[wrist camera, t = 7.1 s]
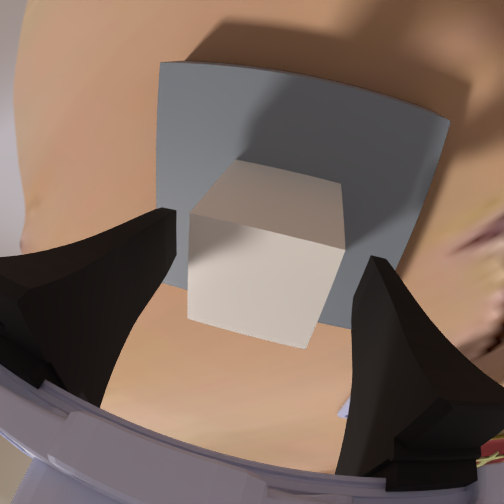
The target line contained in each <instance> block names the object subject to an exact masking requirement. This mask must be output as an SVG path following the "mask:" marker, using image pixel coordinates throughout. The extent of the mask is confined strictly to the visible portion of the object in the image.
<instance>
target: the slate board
mask: <svg viewBox="0 0 504 504" xmlns="http://www.w3.org/2000/svg"><path fill="white" fill-rule="evenodd" d="M450 122H451V121H450V120H448V119H446V118H445V117H443V116H441V115H439V114H437V113H435V112H434V111H431V110H429V109H426V108H423V107H421V106H418V105H415V104H412V103H409V102H406V101H403V100H400V99H397V98H394V97H391V96H388V95H385V94H381V93H378V92H374V91H371V90H367V89H364V88H360V87H356V86H353V85H349V84H345V83H341V82H337V81H332V80H328V79H323V78H319V77H314V76H309V75H304V74H299V73H293V72H288V71H282V70H275V69H269V68H262V67H254V66H246V65H237V64H227V63H216V62H201V61H172V62H160V73H159V89H158V108H157V138H156V201H157V209H158V208H161V207H164V208H168V209H173V210H177V219H176V235H177V255H176V257H175V259H174V262H173V264H172V266H171V268H170V270H169V272H168V273H167V275H166V277H165V278H164V280H163V281H162V283H164V284H168V285H171V286H175V287H179V288H182V289H186V290H188V247H189V219H190V212H191V211H192V209H193V208H194V207H195V206H196V205H197V203H198V202H199V201H200V200H201V199H202V197H203V196H204V195H205V194H206V193H207V192H208V190H209V189H210V188H211V187H212V186H213V184H214V183H215V182H216V181H217V180H218V179H219V178H220V176H221V175H222V174H223V173H224V172H225V171H226V169H227V168H228V167H229V166H230V165H231V164H232V163H233V162H234V160H241V161H246V162H250V163H255V164H260V165H265V166H269V167H274V168H279V169H283V170H287V171H292V172H296V173H300V174H304V175H309V176H313V177H317V178H321V179H325V180H329V181H332V182H336V183H340V184H341V190H342V202H343V216H344V232H345V253H344V255H343V258H342V261H341V263H340V266H339V269H338V271H337V274H336V277H335V279H334V282H333V284H332V287H331V289H330V292H329V294H328V297H327V299H326V302H325V304H324V307H323V309H322V312H321V314H320V317H319V319H318V321H317V322H319V323H323V324H328V325H333V326H337V327H342V328H347V329H351V315H352V303H353V296H354V294H355V292H356V289H357V287H358V285H359V282H360V280H361V278H362V275H363V273H364V270H365V268H366V266H367V263H368V261H369V258H370V256H371V255H373V256H377V257H381V258H385V259H387V260H388V262H389V263H390V264H391V266H392V267H393V268H394V270H396V267H397V265H398V263H399V261H400V259H401V256H402V254H403V252H404V250H405V247H406V245H407V243H408V240H409V238H410V236H411V233H412V231H413V229H414V226H415V224H416V221H417V219H418V216H419V214H420V211H421V209H422V206H423V204H424V201H425V198H426V196H427V193H428V190H429V187H430V185H431V182H432V179H433V176H434V173H435V170H436V167H437V164H438V161H439V158H440V155H441V152H442V149H443V146H444V142H445V139H446V136H447V132H448V129H449V125H450Z"/></svg>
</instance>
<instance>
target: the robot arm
mask: <svg viewBox="0 0 504 504" xmlns="http://www.w3.org/2000/svg"><path fill="white" fill-rule="evenodd" d="M176 219H177V210H173V209H168V208H164V207H161V208H158V209H155V210H153V211H150V212H148V213H145V214H143V215H141V216H139V217H136V218H134V219H132V220H130V221H128V222H125V223H123V224H121V225H119V226H116V227H114V228H112V229H109V230H107V231H104V232H102V233H100V234H97V235H95V236H92V237H89V238H87V239H84V240H81V241H78V242H75V243H72V244H68V245H65V246H61V247H57V248H53V249H49V250H46V251H41V252H36V253H30V254H24V255H18V256H9V257H0V435H2V436H3V437H4V438H5V439H7V440H8V441H9V442H10V443H12V444H13V445H14V446H16V447H17V448H18V449H20V450H21V451H22V452H24V453H25V454H26V455H28V456H29V457H30V458H32V459H33V461H32V463H31V464H30V467H29V468H28V470H27V472H26V474H25V476H24V478H23V480H22V482H21V483H20V486H19V487H18V489H17V492H16V493H15V495H14V497H13V500H12V502H11V504H504V462H499V463H492V464H486V465H482V466H479V467H477V465H476V459H479V458H480V457H481V455H482V454H481V446H482V445H484V444H485V443H487V442H488V441H489V440H491V439H492V438H493V437H495V436H496V435H497V434H499V433H500V432H501V431H502V430H503V429H504V387H502V386H501V385H500V384H498V383H497V382H495V381H494V380H493V379H491V378H490V377H488V376H487V375H486V374H485V373H483V372H482V371H481V370H480V369H479V368H477V367H476V366H475V365H474V364H473V363H471V362H470V361H469V360H468V359H467V358H466V357H465V356H464V355H463V354H462V353H461V352H460V351H459V350H458V349H457V348H456V347H455V346H454V345H453V344H452V343H451V342H450V341H449V340H448V339H447V338H446V337H445V336H444V335H443V334H442V333H441V331H440V330H439V329H438V328H437V327H436V326H435V325H434V323H433V322H432V321H431V320H430V319H429V317H428V316H427V315H426V313H425V312H424V311H423V309H422V308H421V307H420V306H419V304H418V303H417V301H416V300H415V299H414V297H413V296H412V294H411V293H410V292H409V290H408V289H407V287H406V286H405V284H404V283H403V281H402V280H401V279H400V277H399V276H398V274H397V273H396V271H395V270H394V268H393V267H392V266H391V264H390V263H389V262H388V260H387V259H385V258H381V257H377V256H373V255H371V256H370V258H369V261H368V263H367V266H366V268H365V270H364V273H363V275H362V278H361V280H360V282H359V285H358V287H357V289H356V292H355V294H354V296H353V303H352V315H351V334H352V369H353V373H352V388H351V395H350V397H349V398H348V399H347V401H346V402H345V403H344V405H343V406H342V407H341V409H340V410H339V411H338V417H341V418H347V423H346V429H345V434H344V439H343V443H342V448H341V452H340V456H339V460H338V464H337V468H336V472H335V475H334V474H325V473H317V472H309V471H303V470H296V469H290V468H285V467H279V466H274V465H269V464H264V463H259V462H255V461H250V460H246V459H242V458H238V457H234V456H230V455H226V454H222V453H219V452H215V451H212V450H208V449H205V448H201V447H198V446H195V445H192V444H189V443H186V442H182V441H179V440H177V439H174V438H171V437H168V436H165V435H162V434H160V433H157V432H154V431H152V430H149V429H147V428H144V427H142V426H139V425H137V424H134V423H132V422H129V421H127V420H125V419H122V418H120V417H118V416H115V415H113V414H111V413H109V412H107V411H105V410H102V409H100V405H101V402H102V399H103V396H104V393H105V390H106V387H107V384H108V382H109V379H110V376H111V374H112V371H113V369H114V366H115V364H116V361H117V359H118V357H119V355H120V352H121V350H122V348H123V346H124V343H125V341H126V339H127V337H128V335H129V333H130V331H131V329H132V327H133V325H134V324H135V322H136V320H137V319H138V317H139V315H140V314H141V312H142V311H143V309H144V308H145V306H146V305H147V304H148V302H149V301H150V299H151V298H152V296H153V295H154V293H155V292H156V290H157V289H158V287H159V286H160V284H161V283H162V281H163V280H164V278H165V277H166V275H167V273H168V272H169V270H170V268H171V266H172V264H173V262H174V259H175V257H176V255H177V235H176Z"/></svg>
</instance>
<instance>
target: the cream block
mask: <svg viewBox="0 0 504 504" xmlns="http://www.w3.org/2000/svg"><path fill="white" fill-rule="evenodd" d="M344 253H345V232H344V216H343V202H342V190H341V184H340V183H336V182H332V181H329V180H325V179H321V178H317V177H313V176H309V175H304V174H300V173H296V172H292V171H287V170H283V169H279V168H274V167H269V166H265V165H260V164H255V163H250V162H246V161H241V160H234V162H233V163H232V164H231V165H230V166H229V167H228V168H227V169H226V171H225V172H224V173H223V174H222V175H221V176H220V178H219V179H218V180H217V181H216V182H215V183H214V184H213V186H212V187H211V188H210V189H209V190H208V192H207V193H206V194H205V195H204V196H203V197H202V199H201V200H200V201H199V202H198V203H197V205H196V206H195V207H194V208H193V209H192V211H191V212H190V219H189V247H188V319H191V320H194V321H198V322H201V323H204V324H208V325H211V326H215V327H218V328H222V329H226V330H229V331H233V332H237V333H240V334H244V335H248V336H252V337H256V338H260V339H264V340H268V341H272V342H276V343H280V344H284V345H288V346H292V347H297V348H301V349H306V347H307V345H308V343H309V340H310V338H311V336H312V333H313V331H314V329H315V326H316V324H317V321H318V319H319V317H320V314H321V312H322V309H323V307H324V304H325V302H326V299H327V297H328V294H329V292H330V289H331V287H332V284H333V282H334V279H335V277H336V274H337V271H338V269H339V266H340V263H341V261H342V258H343V255H344Z"/></svg>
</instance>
